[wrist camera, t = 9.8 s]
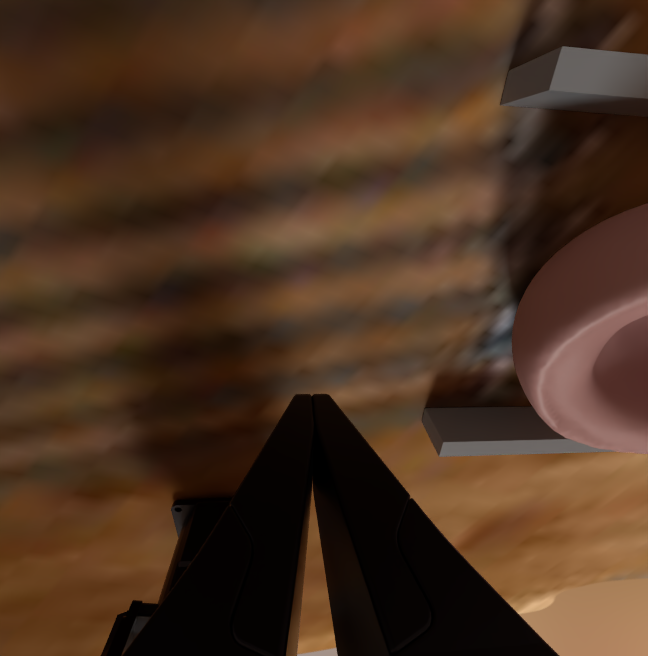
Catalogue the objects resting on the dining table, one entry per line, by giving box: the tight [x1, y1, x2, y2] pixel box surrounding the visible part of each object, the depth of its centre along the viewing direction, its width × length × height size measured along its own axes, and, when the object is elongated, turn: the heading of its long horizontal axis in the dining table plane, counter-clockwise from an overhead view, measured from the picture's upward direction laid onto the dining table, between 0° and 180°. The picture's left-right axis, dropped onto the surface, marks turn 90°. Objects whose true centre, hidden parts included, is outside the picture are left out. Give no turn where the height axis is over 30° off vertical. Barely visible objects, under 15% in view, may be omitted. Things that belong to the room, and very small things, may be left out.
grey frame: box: [422, 46, 648, 457], centre depth 17 cm, size 19×15×3 cm
